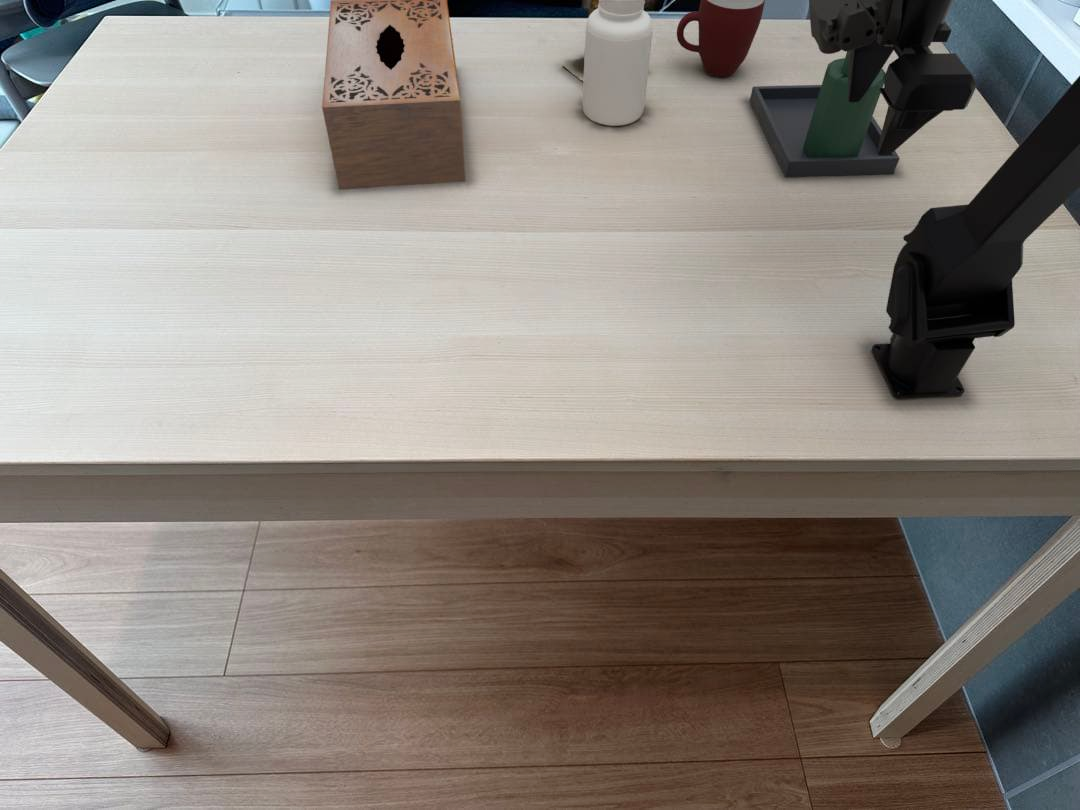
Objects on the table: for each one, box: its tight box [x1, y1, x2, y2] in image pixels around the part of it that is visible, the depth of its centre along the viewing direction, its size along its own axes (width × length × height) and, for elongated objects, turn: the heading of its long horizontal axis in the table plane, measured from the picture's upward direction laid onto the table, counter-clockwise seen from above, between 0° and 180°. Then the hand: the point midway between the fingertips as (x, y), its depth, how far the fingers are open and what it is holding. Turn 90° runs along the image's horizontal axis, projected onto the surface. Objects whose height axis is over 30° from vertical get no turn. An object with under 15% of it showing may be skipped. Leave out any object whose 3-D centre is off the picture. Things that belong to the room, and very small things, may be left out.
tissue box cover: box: [321, 0, 467, 190], centre depth 96 cm, size 26×14×10 cm, turn 8°
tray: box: [749, 84, 901, 178], centre depth 99 cm, size 17×13×2 cm
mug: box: [676, 0, 766, 78], centre depth 106 cm, size 11×8×10 cm
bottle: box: [803, 51, 886, 158], centre depth 91 cm, size 6×6×14 cm
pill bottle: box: [581, 0, 654, 127], centre depth 97 cm, size 8×8×15 cm
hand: (867, 127), depth 76 cm, fingers open, 9 cm apart
